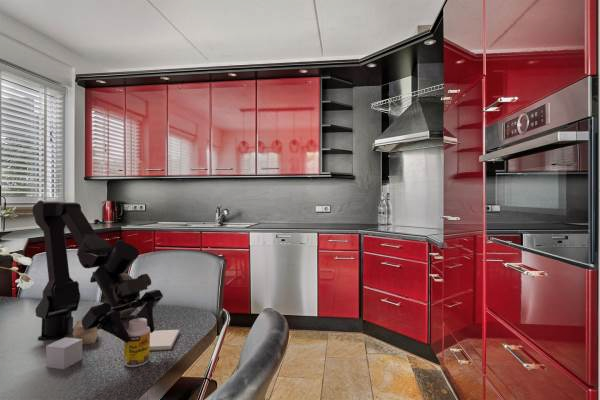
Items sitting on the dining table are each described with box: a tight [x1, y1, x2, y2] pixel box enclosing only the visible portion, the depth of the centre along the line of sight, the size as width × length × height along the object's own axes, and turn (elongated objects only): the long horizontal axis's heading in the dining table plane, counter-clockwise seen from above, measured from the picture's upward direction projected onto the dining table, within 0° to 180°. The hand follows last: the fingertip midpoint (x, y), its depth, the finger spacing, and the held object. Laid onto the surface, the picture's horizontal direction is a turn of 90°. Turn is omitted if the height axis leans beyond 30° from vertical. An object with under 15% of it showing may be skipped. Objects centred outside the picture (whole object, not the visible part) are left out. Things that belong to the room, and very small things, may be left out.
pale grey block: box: [45, 336, 83, 370], centre depth 78 cm, size 5×5×5 cm
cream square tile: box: [149, 329, 180, 351], centre depth 91 cm, size 11×11×1 cm
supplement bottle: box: [123, 317, 150, 368], centre depth 79 cm, size 6×6×10 cm
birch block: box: [72, 320, 99, 345], centre depth 91 cm, size 5×5×5 cm
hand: (141, 336), depth 79 cm, fingers open, 6 cm apart
